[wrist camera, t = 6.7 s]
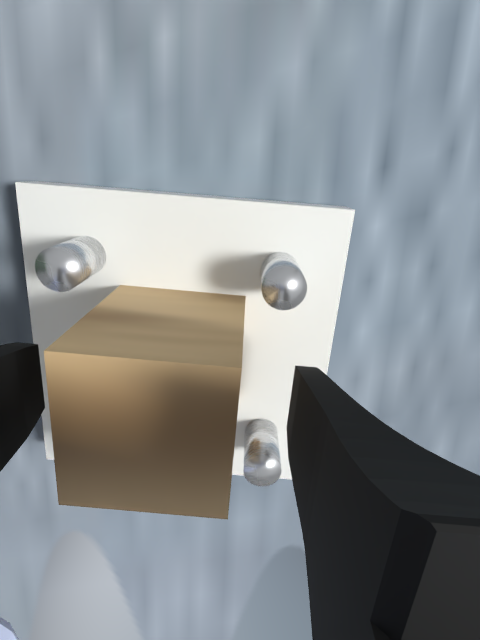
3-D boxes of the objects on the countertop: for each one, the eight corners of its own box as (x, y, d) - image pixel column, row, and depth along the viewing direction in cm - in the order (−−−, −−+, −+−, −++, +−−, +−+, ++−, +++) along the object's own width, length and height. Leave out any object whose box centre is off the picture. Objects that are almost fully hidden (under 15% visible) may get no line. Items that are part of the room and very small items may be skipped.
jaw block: (236, 404, 14) (227, 519, 9) (122, 394, 14) (58, 504, 9) (245, 295, 13) (241, 368, 8) (120, 285, 13) (43, 350, 8)
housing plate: (304, 459, 16) (316, 524, 13) (60, 439, 16) (17, 499, 13) (346, 206, 13) (374, 217, 10) (35, 181, 13) (-31, 183, 10)
